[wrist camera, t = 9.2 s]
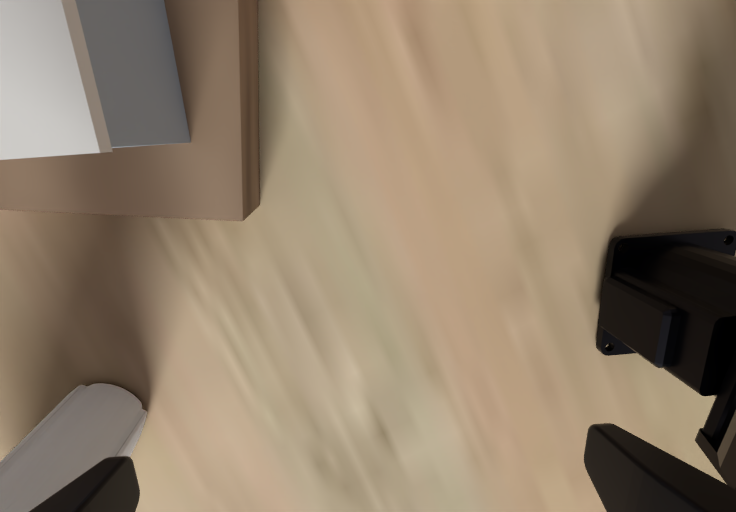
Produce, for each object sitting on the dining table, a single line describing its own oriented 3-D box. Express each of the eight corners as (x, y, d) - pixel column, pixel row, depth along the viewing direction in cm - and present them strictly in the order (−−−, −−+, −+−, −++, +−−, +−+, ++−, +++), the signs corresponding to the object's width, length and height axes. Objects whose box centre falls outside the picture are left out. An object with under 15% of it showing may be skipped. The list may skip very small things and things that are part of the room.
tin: (165, -13, 13) (27, -132, 7) (194, 145, 14) (100, 152, 8) (5, -5, 12) (-275, -124, 7) (51, 155, 14) (-148, 170, 8)
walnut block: (259, -19, 16) (236, -65, 12) (261, 203, 19) (242, 221, 15) (18, -44, 15) (-86, -102, 12) (54, 192, 18) (-21, 208, 14)
